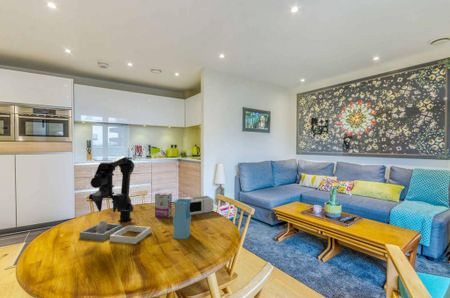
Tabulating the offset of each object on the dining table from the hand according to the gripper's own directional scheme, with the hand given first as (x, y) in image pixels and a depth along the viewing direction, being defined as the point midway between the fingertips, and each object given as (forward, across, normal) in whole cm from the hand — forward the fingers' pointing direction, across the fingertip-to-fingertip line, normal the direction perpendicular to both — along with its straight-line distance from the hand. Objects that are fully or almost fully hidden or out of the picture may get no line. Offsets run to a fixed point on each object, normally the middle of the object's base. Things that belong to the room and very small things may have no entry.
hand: (107, 211), depth 122 cm
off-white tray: (+13, +16, -1) cm, 20 cm away
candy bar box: (+13, +18, +34) cm, 41 cm away
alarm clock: (+14, +37, +46) cm, 60 cm away
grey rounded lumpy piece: (+13, -3, 0) cm, 14 cm away
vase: (+13, +43, +5) cm, 45 cm away
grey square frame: (+13, -3, 0) cm, 13 cm away
